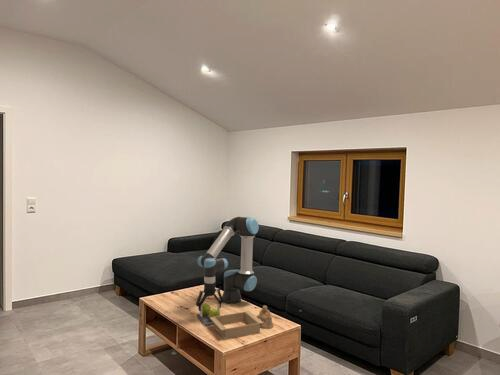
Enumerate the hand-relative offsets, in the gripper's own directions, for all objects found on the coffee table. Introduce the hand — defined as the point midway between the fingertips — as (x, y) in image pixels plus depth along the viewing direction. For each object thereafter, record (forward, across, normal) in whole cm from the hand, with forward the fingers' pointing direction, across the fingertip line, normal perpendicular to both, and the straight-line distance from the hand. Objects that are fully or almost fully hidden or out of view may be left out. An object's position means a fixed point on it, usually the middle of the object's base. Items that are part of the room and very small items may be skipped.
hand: (209, 314), depth 260 cm
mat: (+4, 0, 0) cm, 4 cm away
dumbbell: (+2, 0, 0) cm, 2 cm away
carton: (+4, -10, +22) cm, 24 cm away
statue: (+4, -29, +23) cm, 37 cm away
